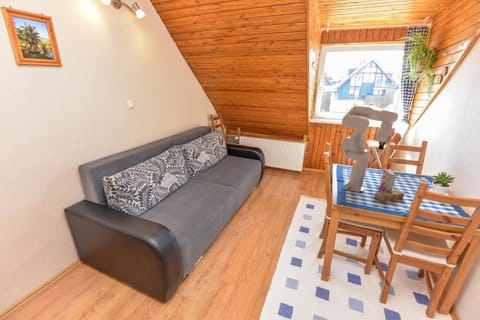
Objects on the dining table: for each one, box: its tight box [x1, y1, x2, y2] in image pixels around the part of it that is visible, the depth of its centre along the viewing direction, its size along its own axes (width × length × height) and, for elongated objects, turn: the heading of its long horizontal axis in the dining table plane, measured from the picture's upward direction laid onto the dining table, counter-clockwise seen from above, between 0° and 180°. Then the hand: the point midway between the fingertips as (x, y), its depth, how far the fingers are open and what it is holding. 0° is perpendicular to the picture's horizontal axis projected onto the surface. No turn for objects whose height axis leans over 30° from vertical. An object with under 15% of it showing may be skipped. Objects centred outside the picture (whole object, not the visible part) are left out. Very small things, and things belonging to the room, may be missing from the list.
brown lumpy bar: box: [373, 188, 406, 203], centre depth 156 cm, size 20×6×5 cm, turn 107°
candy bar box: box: [378, 168, 397, 192], centre depth 164 cm, size 11×5×16 cm, turn 165°
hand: (380, 149), depth 178 cm, fingers closed
